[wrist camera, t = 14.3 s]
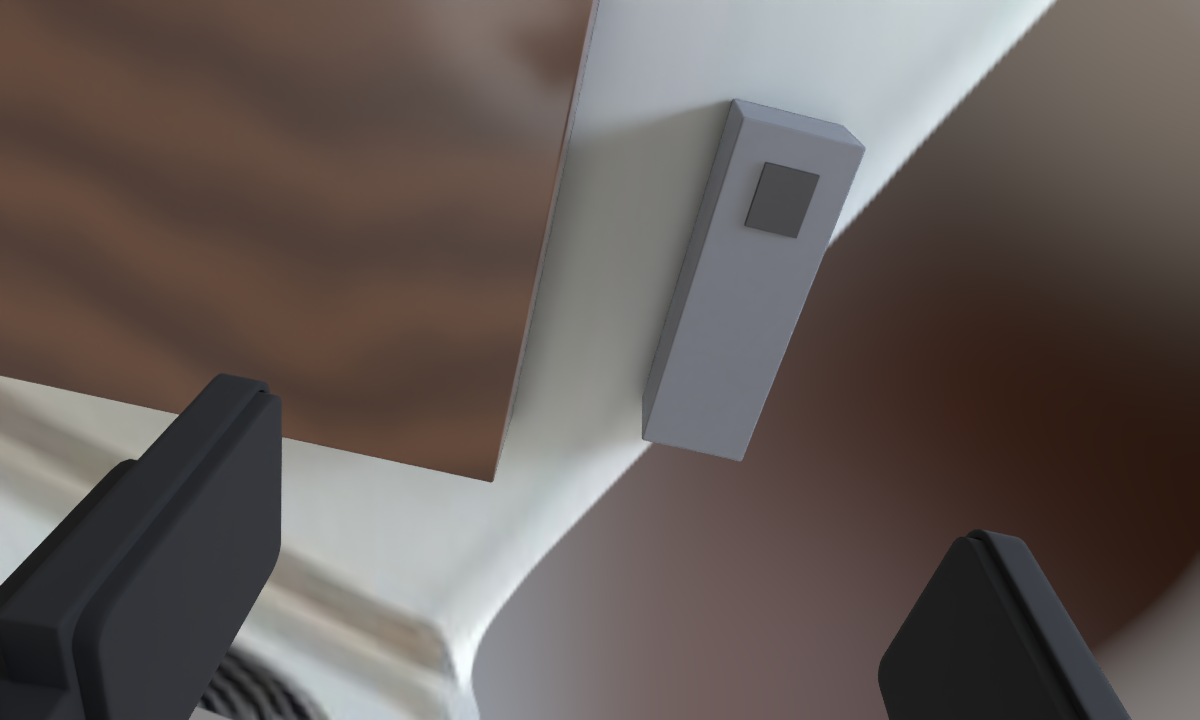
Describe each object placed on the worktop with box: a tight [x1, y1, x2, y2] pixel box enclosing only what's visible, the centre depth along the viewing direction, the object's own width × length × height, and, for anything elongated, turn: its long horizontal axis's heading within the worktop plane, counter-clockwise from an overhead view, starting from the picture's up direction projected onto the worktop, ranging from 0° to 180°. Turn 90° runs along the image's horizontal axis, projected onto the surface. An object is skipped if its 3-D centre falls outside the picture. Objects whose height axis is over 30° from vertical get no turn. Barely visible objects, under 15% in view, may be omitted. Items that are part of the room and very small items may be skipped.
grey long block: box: [642, 99, 866, 461], centre depth 31 cm, size 14×4×4 cm, turn 167°
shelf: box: [0, 0, 599, 482], centre depth 30 cm, size 20×22×5 cm
